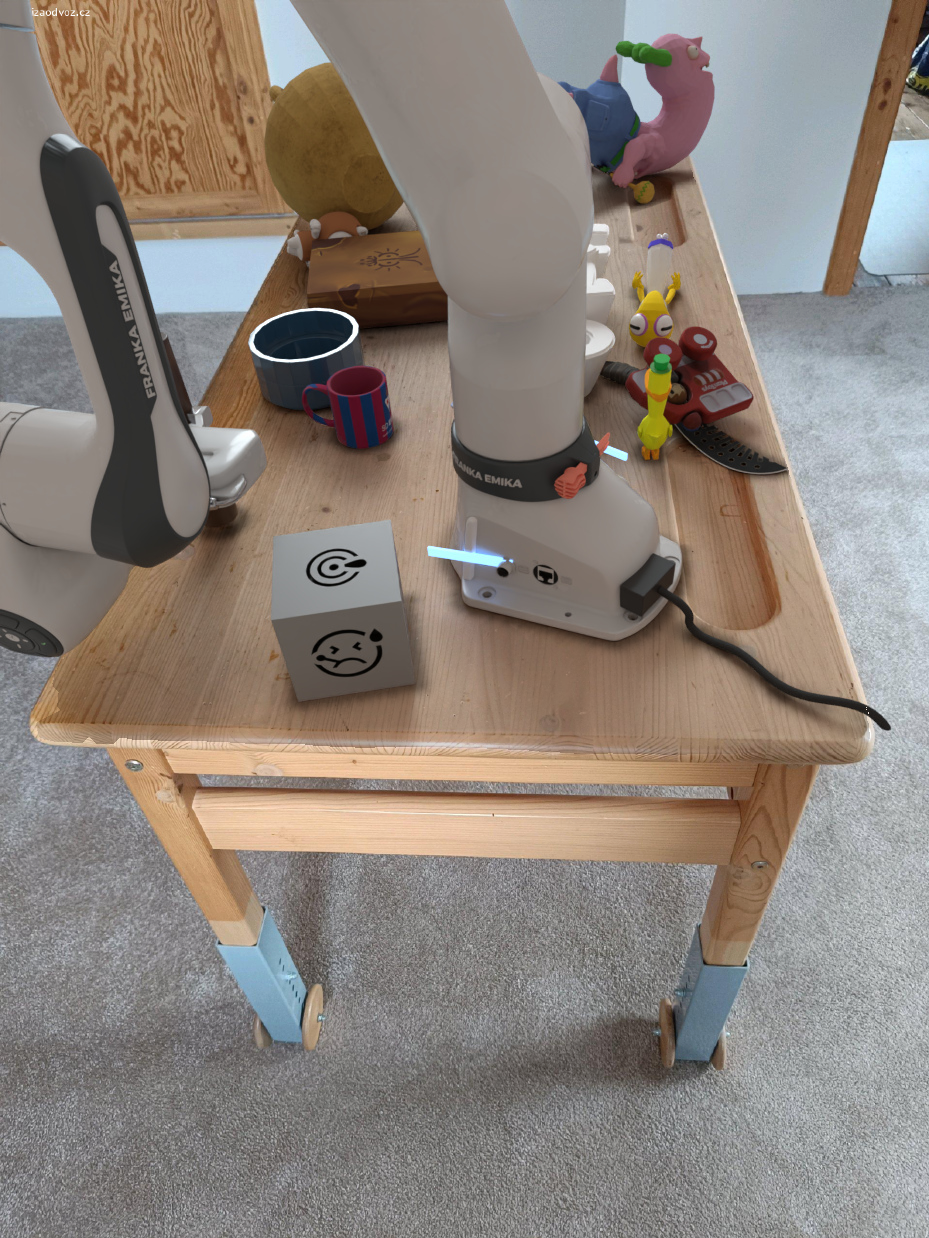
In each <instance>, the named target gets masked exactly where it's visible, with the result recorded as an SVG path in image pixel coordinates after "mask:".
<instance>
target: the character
mask: <svg viewBox="0 0 929 1238" xmlns="http://www.w3.org/2000/svg"><path fill="white" fill-rule="evenodd" d="M655 236H656V237H655V239H653V240H651V241H650V242H649V244H648V246H647V249H648V250H647V254H646V255H647V256H646V292H647V294H646V295H645V285H643V282H642V278H643V277H644V273H642V271H641V270H640V271H639V272H638V271H635V273H634V275H633V279H632V281H631V288H632V289H633V290H636V293H637V297H638V301H639V303H640V304H639V306H638V309H637V310H636V312H635V313H634V314H633V315H632V316H631V318H630V320H629V321H628V332H629V336H630V338H631V340H632V342H633V343H635V344H636V345H638V346H639V347H642V348H646V345H647V343H648V342H649V341H650V340H652V339H654V338H657V337H663V338H668V339H670V338H671V336H672V334H673V332H674V328H675V325H674V321H673V318H672V317H671V315H670V313H669V311H668V305H669V304H670V303H671V302H672V300H673V298H675V295H676V292H677V291H680V289H681V286H682V281H681V273H680V272H676V271H674V272H673V274H670V271H671V266H672V259H673V250H674V244H673V242H672V241H670V240H668V239H669V233H667V232H664V233H663V234H661V233H657V234H656V235H655ZM669 275H670V278H671V280H672V283H671V284H669V285H668V286H667V283H668V280H669ZM666 287H667V288H666ZM666 289H667V290H668V293H667V295H666V298H665V299H664V295H665V290H666Z"/></svg>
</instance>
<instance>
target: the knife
mask: <svg viewBox="0 0 929 1238" xmlns="http://www.w3.org/2000/svg"><path fill="white" fill-rule="evenodd" d="M638 370H641V369H639V368H638V367H636V366H633V365H631V364H628V363H627V362H621V361H612V360H606V362H605V364H604V366H603V368H602V370H601V372H600V374H599V376H601V377H603V378H604V379H605V380H609V381H611V382H614V383H617V384H620V385H624V386H625V383H626V381H627V379H628V377H629V375H630V374H631V373H633V372H636V371H638ZM710 424H711V423H708V424H705V423H701V426H700V427H699V428H698V429H697V430H695V431H688V430H686V429H685V428H684V427H683V426H682V422H680V423H678V424H674V426H675V427H676V428H677V430H678V431H679V432H680V433H681V435H683V437H684V438H685V439H686V440H687V441H688V442H689V443H690V444H691V445H692V446H694V447H695V448H696V449H697V450H699V452H701V453H702V454H703V455H705V456H706V457H708V458H709V459H710V460H712V461H714V462H715V463H717V464H719V465H721V466H723V467H725V468H727V469H729V470H733V471H736V472H741V473H744V474H750V475H772V474H777V473H782V472H784V471H787V470H789V468H788V467H787V466H784V465H782V464H780V463H778V462H776V461H770V458H768V457H766V456H764V455H762V456H761V457H762V458H761V457H760V453H759V452H757V451H756V450H755V451H754V452H753V454H752V451H753V449H751V448H750V447H748V448H747V446H746V445H745V444H741V442H740V441H738V440H735V438H734V437H732V436H730V435H728V436H727V433H726V432H725V431H723V430H719V428H718V427H717V426H716V425H714V424H711V425H710ZM718 430H719V431H718ZM709 433H710V434H709ZM716 439H718V440H716ZM734 440H735V441H734ZM732 441H733V442H732ZM723 445H725V446H723ZM745 449H746V450H745ZM731 450H733V451H732V452H731ZM719 454H721V455H719ZM740 454H741V456H740ZM749 458H750V459H749ZM743 464H744V465H743ZM757 467H758V468H757Z"/></svg>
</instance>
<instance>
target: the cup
mask: <svg viewBox="0 0 929 1238" xmlns="http://www.w3.org/2000/svg"><path fill="white" fill-rule="evenodd" d="M311 390H318V391H321V392H323V393H324V394H326V395H328V397H329V400H330V405H331V406H330V409H331V415H332V419H331V418H326V417H323V416H320V415H319V414H317V413H316V412H314V410H311V408H310V407H309V404H308V401H307V393H308V392H309V391H311ZM302 404H303V407H304V410H303V411H304V412H305V414H306V415H307V416H308V417H309V418H310V419H311V420H312V421H313V422H316V423H317V424H320V425H322V426H325V427H329V428H334V429H335V434H336V438H337V441H339V442H340V443H341V444H342V445H343V446H345V447H348V448H351V449H359V450H362V449H364V450H365V449H372V448H374V447H377V446H380V445H382V444H384V443H385V442H387V441H388V440H389V439H390V438H391V437H392V436H393V434H394V431H395V428H394V422H393V415H392V407H391V400H390V395H389V386H388V380H387V376H386V374H385V372H384V371H383V370H381V369H380V368H377V367H375V366H370V365H365V366H353V367H348V368H345V369H342V370H340V371H338V372H336V373H334V374H333V375H332V376H331V377H330V378H329V379H328V381H327V386H326V385H322V384H311V385H308V386H307V387H306V388H305V389H304V391H303V394H302Z"/></svg>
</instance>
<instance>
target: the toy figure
mask: <svg viewBox="0 0 929 1238" xmlns="http://www.w3.org/2000/svg"><path fill="white" fill-rule="evenodd" d="M669 361H670V357H669V356H668V355H666V354H658V355H655V357H654V362H653V363H651V365H650V369H648V370H647V371H646V374H645V389H646V393H647V394H648V410H647V412H648V414H647V415H646V416H645V417H643V418H642V420H641V422H640V424H639V425H638V426H637V429H636V430H637V431H636V432H637V437H638V438H639V440H640V441H641V443H642V444H643V446H642V447H641V456H642V457H643V459H644V461H650V460H651V457H652V460H653V461H656V460H657V461H659V456H660V449H661V447H662V446H663V445H664V444H665V443H666V441H667V439H668V437H669V438H671V437H672V435H673V424H670V423H668V421H667V420H666V418H665V417H664V416H663V413H664V409H665V405H666V401H667V397H668V395H669V393H670V391H671V388H672V385H671V381H670V380H671V371H672V370H671V369H672V366H671V364H670V363H669Z"/></svg>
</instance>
